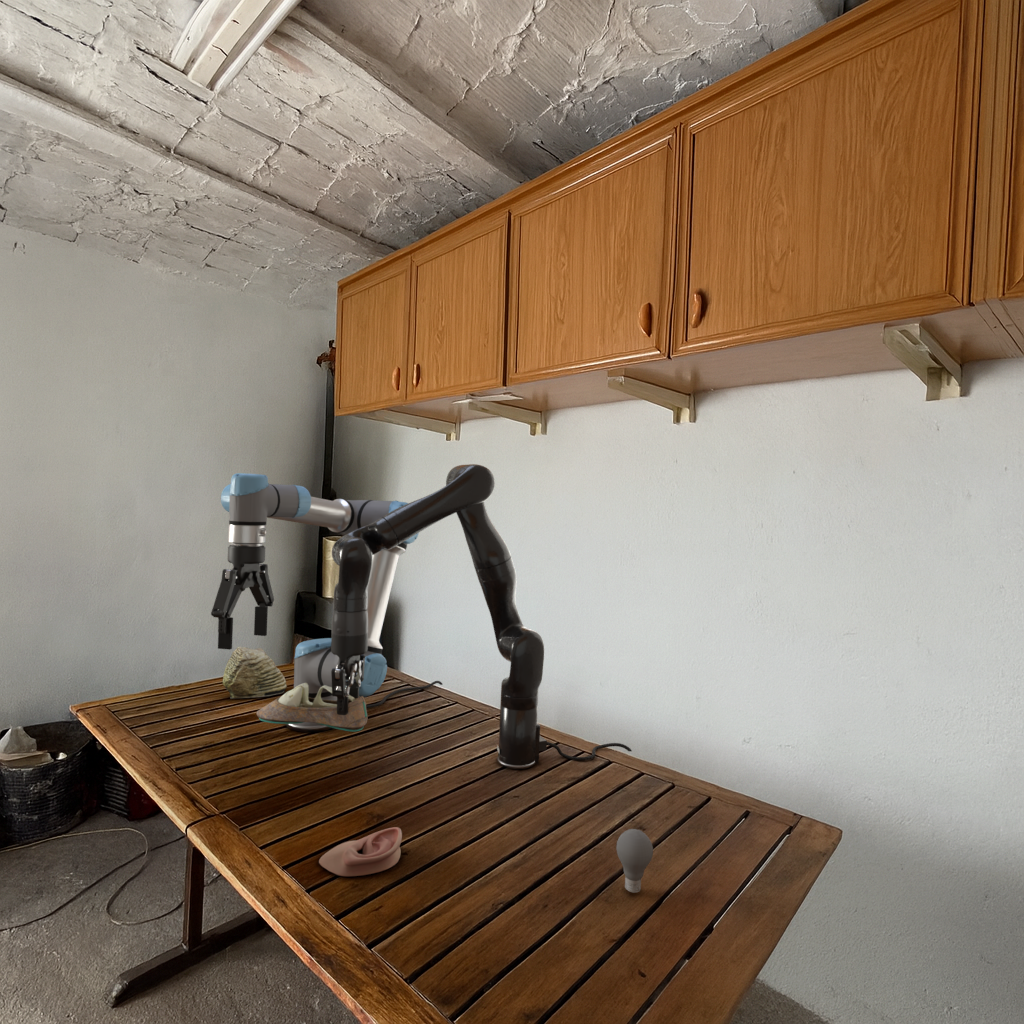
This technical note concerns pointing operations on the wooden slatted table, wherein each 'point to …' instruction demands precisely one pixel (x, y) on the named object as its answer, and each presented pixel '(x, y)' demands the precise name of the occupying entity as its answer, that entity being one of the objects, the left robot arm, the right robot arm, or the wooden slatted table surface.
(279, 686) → the fossil
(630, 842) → the light bulb
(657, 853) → the wooden slatted table surface
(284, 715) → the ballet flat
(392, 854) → the anatomical model
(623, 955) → the wooden slatted table surface
